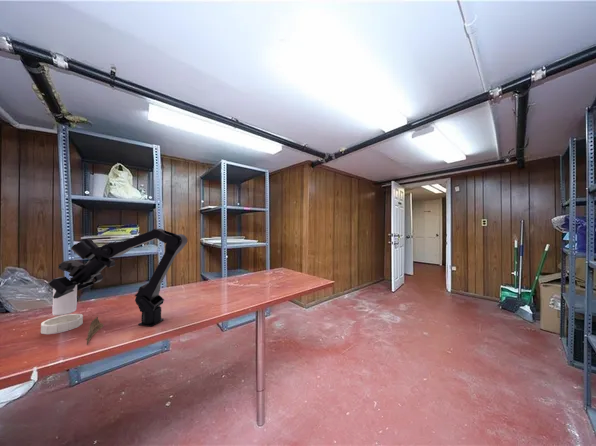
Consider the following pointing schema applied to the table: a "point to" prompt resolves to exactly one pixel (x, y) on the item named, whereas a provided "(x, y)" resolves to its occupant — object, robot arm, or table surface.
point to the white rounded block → (65, 303)
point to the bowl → (61, 323)
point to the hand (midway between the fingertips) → (61, 295)
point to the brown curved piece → (94, 328)
